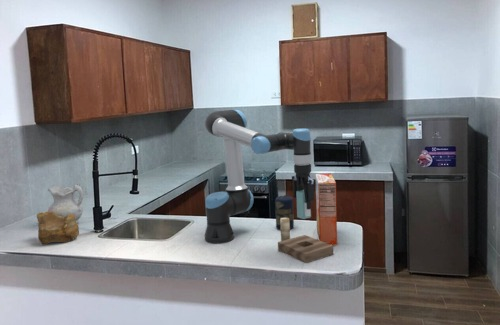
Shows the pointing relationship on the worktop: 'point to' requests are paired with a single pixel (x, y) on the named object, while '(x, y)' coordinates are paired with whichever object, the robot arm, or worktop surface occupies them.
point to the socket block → (305, 248)
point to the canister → (284, 210)
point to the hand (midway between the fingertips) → (304, 214)
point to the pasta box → (326, 208)
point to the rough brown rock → (56, 227)
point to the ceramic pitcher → (66, 201)
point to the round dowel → (285, 229)
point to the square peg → (301, 204)
